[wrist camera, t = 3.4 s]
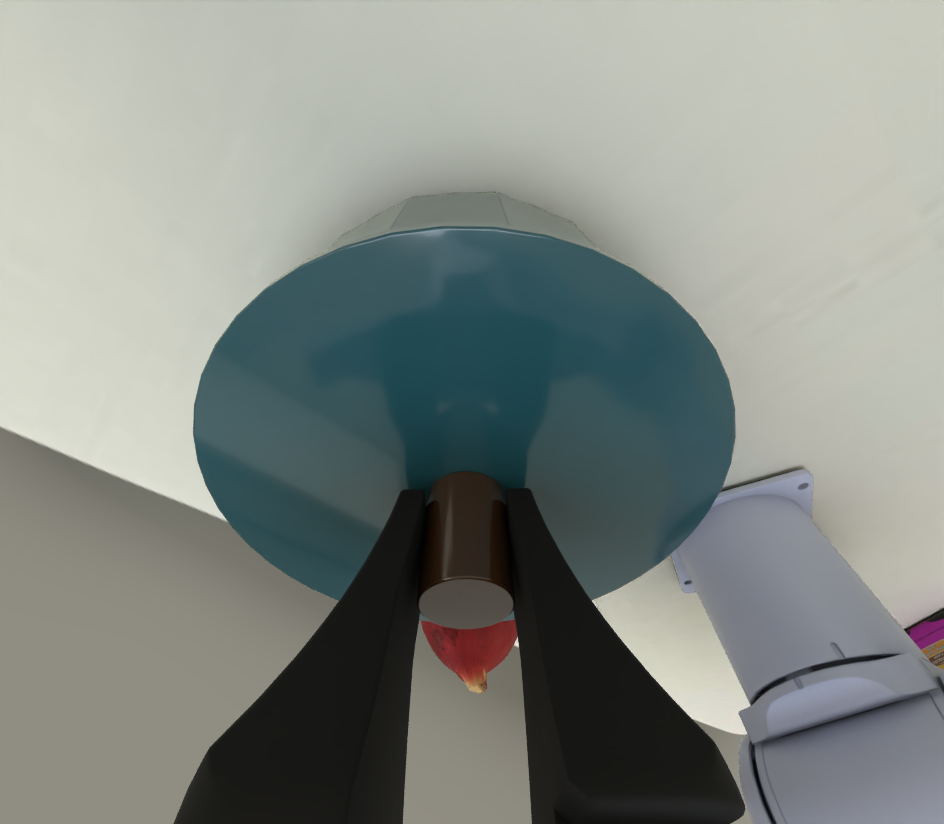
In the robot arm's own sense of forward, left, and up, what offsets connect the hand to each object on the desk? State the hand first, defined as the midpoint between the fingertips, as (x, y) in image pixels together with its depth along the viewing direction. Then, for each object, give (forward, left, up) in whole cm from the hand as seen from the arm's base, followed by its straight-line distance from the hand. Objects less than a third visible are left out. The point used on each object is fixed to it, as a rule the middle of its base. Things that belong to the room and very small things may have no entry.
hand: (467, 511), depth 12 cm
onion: (-12, +6, -8) cm, 15 cm away
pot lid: (0, 0, -1) cm, 1 cm away
